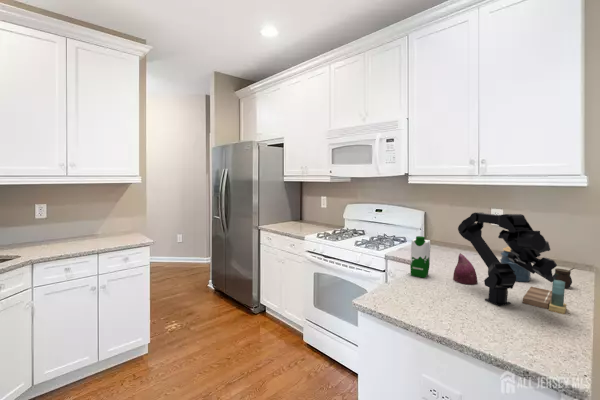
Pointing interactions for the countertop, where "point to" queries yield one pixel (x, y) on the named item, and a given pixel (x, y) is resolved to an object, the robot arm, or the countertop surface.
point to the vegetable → (464, 271)
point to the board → (538, 297)
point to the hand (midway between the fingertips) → (543, 277)
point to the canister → (515, 267)
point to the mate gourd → (563, 276)
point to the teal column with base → (558, 297)
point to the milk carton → (420, 257)
